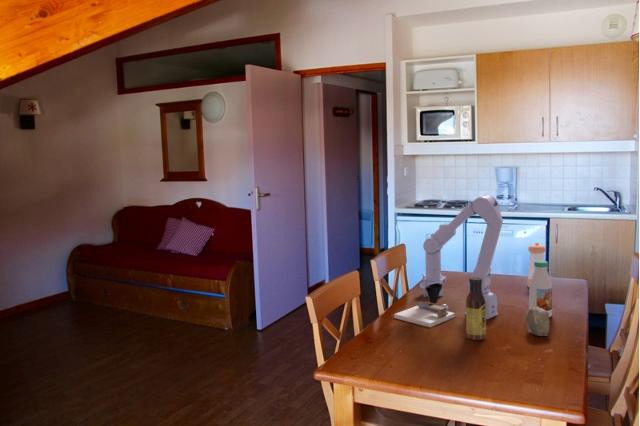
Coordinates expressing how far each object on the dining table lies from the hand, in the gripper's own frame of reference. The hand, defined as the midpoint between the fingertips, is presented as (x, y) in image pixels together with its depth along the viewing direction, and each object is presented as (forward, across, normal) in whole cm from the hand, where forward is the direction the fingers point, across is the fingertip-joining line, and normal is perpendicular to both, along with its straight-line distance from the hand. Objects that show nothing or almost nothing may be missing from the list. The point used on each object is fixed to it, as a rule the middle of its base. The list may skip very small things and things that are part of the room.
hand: (433, 302), depth 216 cm
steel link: (+1, +6, +4) cm, 8 cm away
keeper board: (+2, +11, +4) cm, 12 cm away
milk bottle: (+2, -18, +34) cm, 38 cm away
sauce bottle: (+2, +17, +29) cm, 34 cm away
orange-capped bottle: (+2, -54, +15) cm, 56 cm away
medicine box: (+2, -15, -11) cm, 19 cm away
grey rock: (+2, 0, +42) cm, 42 cm away
